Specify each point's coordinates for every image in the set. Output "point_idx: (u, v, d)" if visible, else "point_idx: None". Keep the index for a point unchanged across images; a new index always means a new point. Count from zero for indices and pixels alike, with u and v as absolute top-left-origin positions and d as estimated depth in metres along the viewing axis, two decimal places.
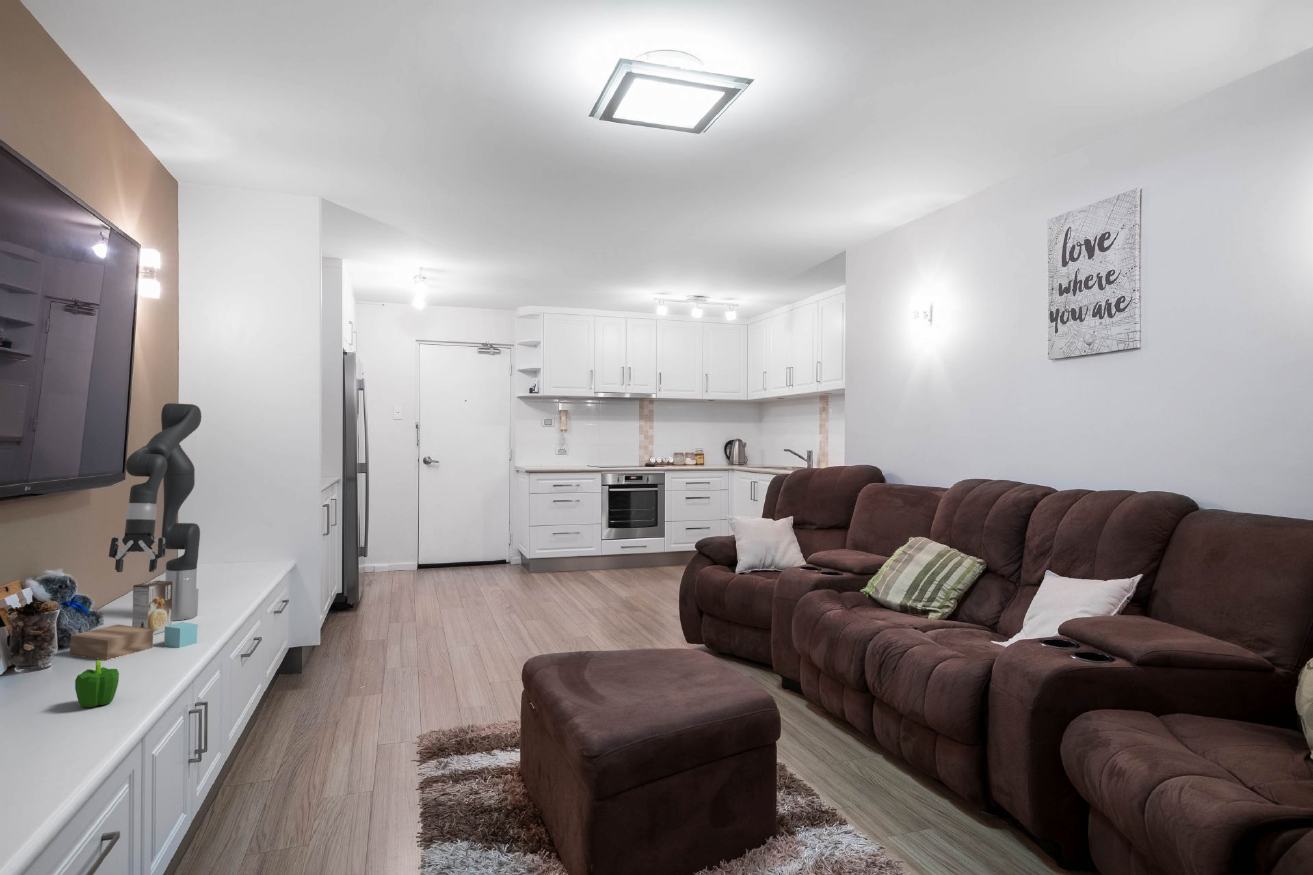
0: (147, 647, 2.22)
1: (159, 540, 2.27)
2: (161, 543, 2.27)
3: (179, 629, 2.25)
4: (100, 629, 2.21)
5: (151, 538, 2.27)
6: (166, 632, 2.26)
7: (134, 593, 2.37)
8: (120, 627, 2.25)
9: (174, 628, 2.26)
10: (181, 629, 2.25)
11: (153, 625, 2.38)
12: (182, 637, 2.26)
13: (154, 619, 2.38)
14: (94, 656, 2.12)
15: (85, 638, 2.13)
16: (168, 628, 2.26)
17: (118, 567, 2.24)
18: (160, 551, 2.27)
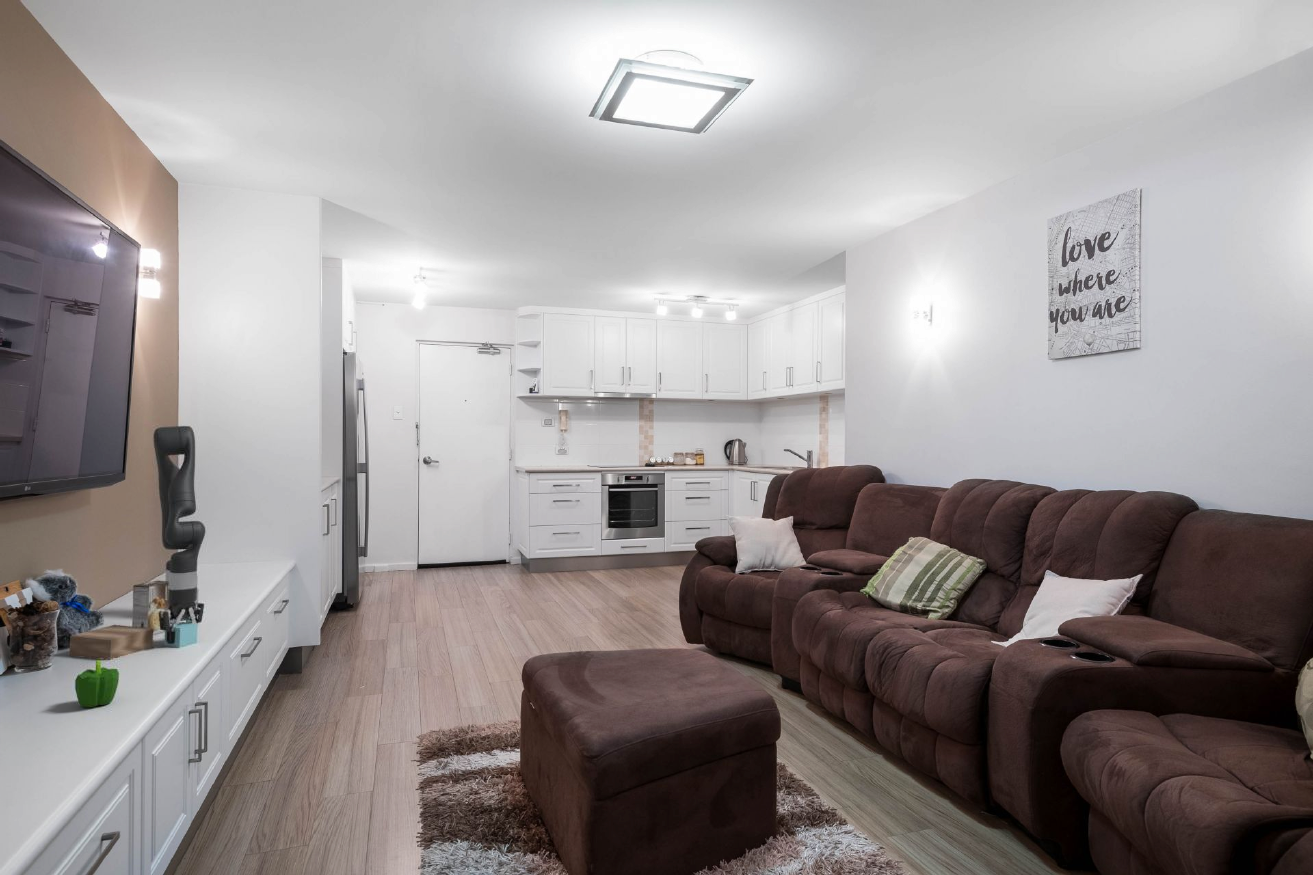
0: (148, 646, 2.23)
1: (201, 606, 2.34)
2: (202, 609, 2.34)
3: (179, 629, 2.25)
4: (98, 629, 2.21)
5: (195, 604, 2.32)
6: None
7: (134, 593, 2.37)
8: (118, 627, 2.24)
9: None
10: (181, 629, 2.25)
11: (153, 625, 2.38)
12: (182, 637, 2.26)
13: (154, 619, 2.38)
14: (96, 656, 2.12)
15: (86, 638, 2.12)
16: None
17: (174, 639, 2.25)
18: (200, 617, 2.34)
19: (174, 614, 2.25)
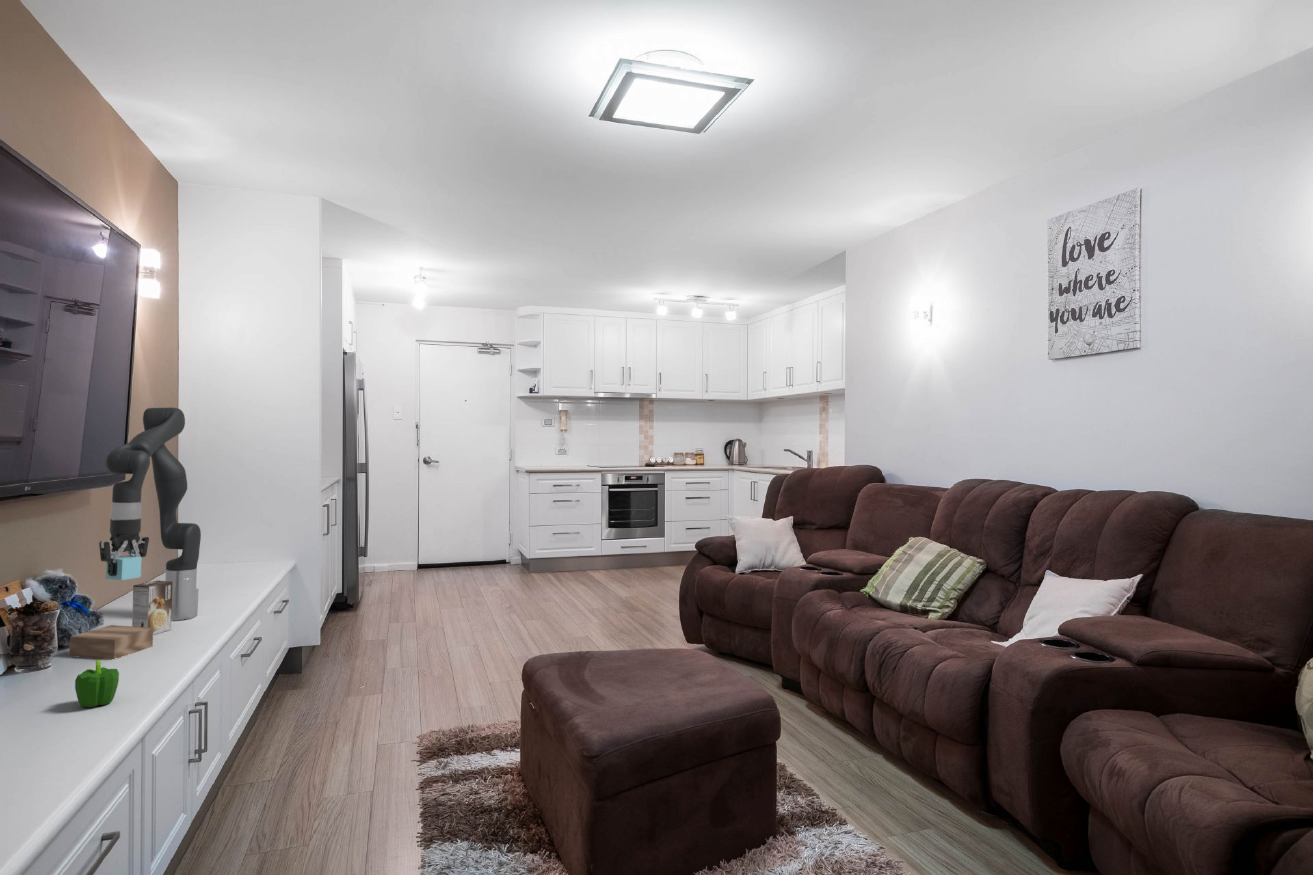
0: (148, 646, 2.24)
1: (146, 539, 2.26)
2: (147, 543, 2.26)
3: (121, 560, 2.17)
4: (97, 630, 2.21)
5: (139, 537, 2.24)
6: None
7: (134, 593, 2.37)
8: (116, 627, 2.24)
9: None
10: (123, 560, 2.17)
11: (153, 625, 2.38)
12: (124, 569, 2.17)
13: (154, 619, 2.38)
14: (99, 656, 2.12)
15: (88, 639, 2.12)
16: None
17: (115, 571, 2.17)
18: (145, 551, 2.26)
19: (116, 545, 2.17)
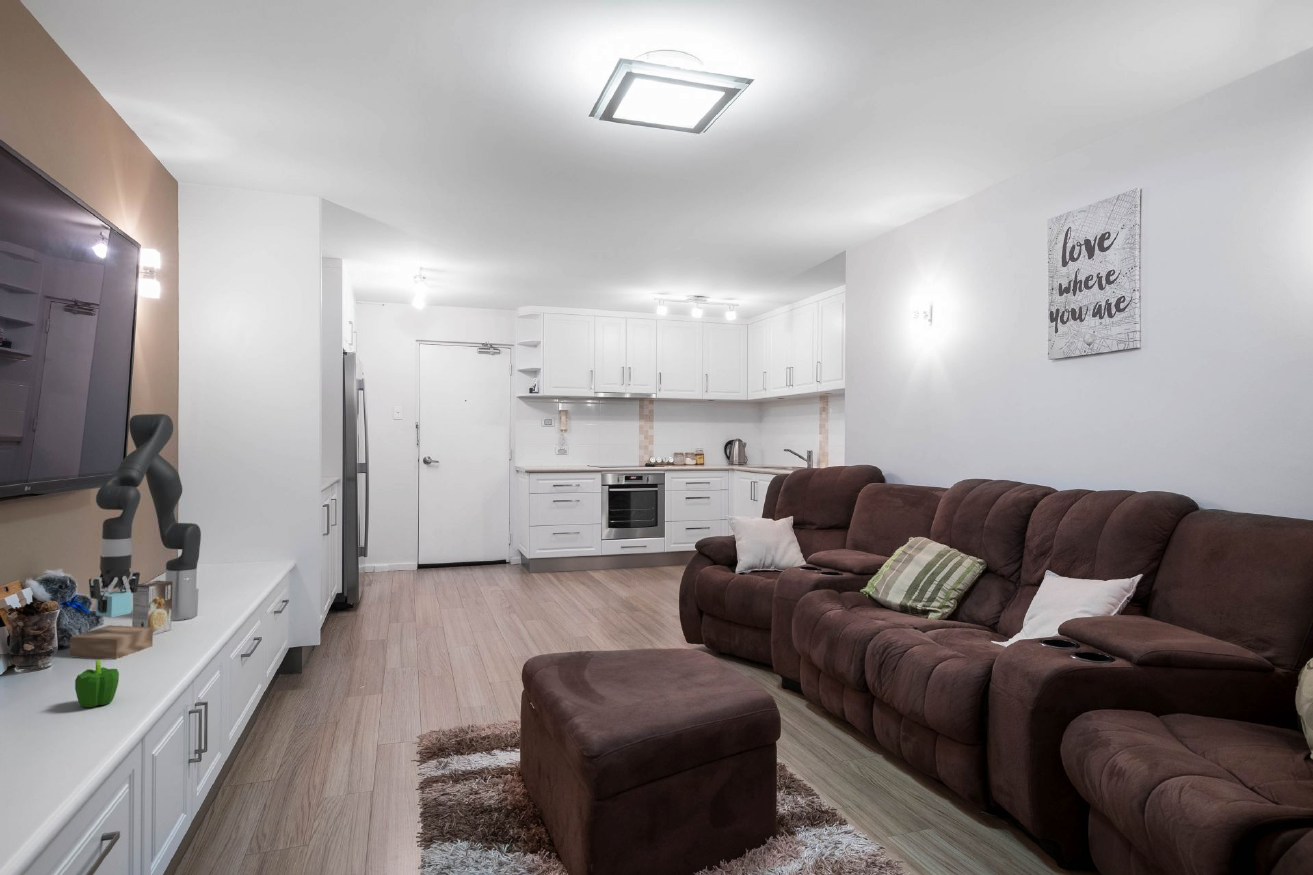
0: (148, 645, 2.24)
1: (137, 575, 2.25)
2: (138, 578, 2.25)
3: (111, 597, 2.16)
4: (96, 630, 2.20)
5: None
6: None
7: (134, 593, 2.37)
8: (115, 627, 2.24)
9: None
10: (113, 597, 2.16)
11: (153, 625, 2.38)
12: (114, 606, 2.16)
13: (154, 619, 2.38)
14: (100, 656, 2.12)
15: (89, 639, 2.12)
16: None
17: (105, 608, 2.16)
18: (136, 586, 2.25)
19: (106, 582, 2.16)
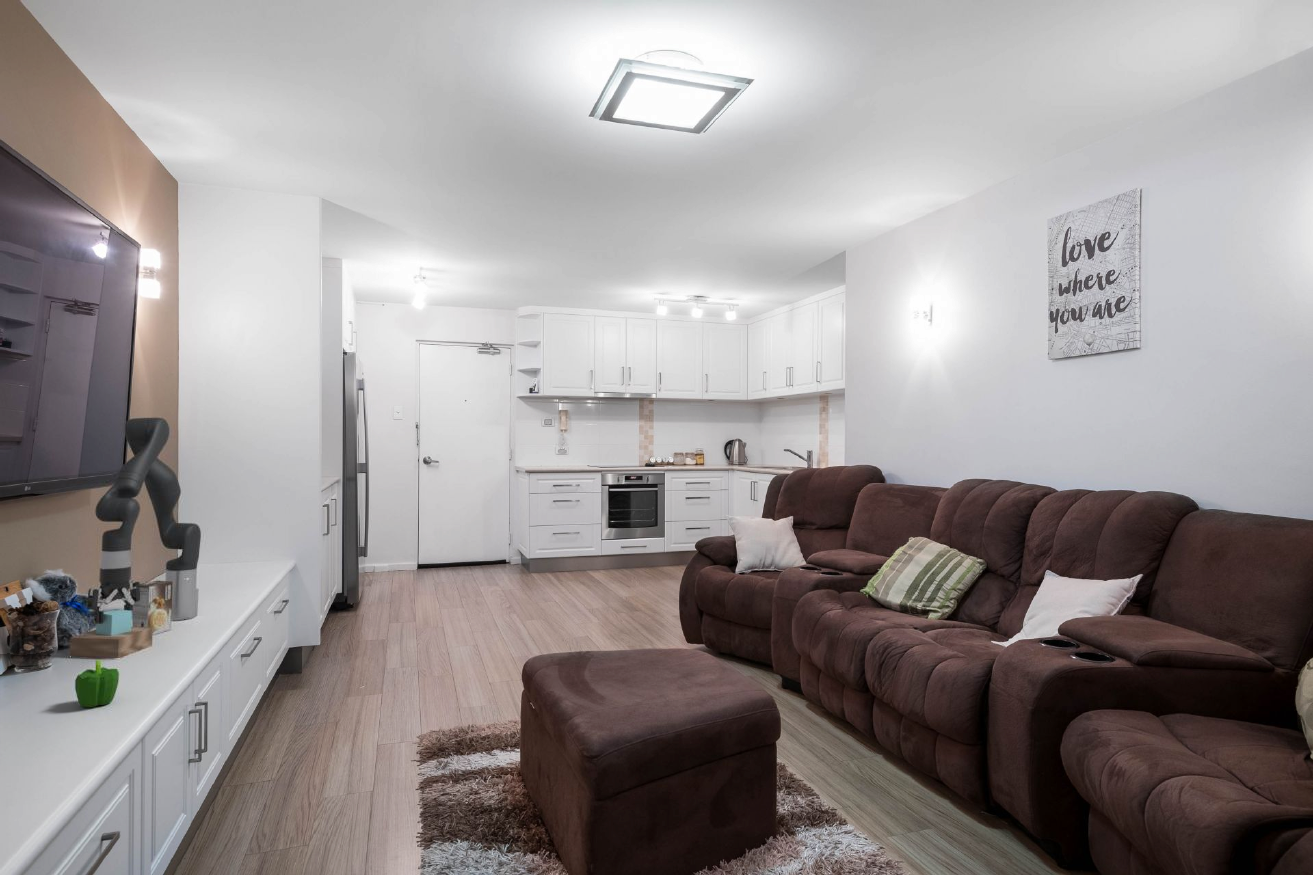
0: (148, 645, 2.24)
1: (137, 584, 2.25)
2: (139, 587, 2.25)
3: (111, 616, 2.16)
4: (95, 631, 2.20)
5: (129, 584, 2.23)
6: None
7: None
8: None
9: (106, 615, 2.16)
10: (113, 616, 2.16)
11: (153, 625, 2.38)
12: (114, 624, 2.16)
13: (154, 619, 2.38)
14: (101, 656, 2.12)
15: (89, 639, 2.12)
16: None
17: (102, 619, 2.15)
18: (138, 595, 2.25)
19: (105, 593, 2.16)
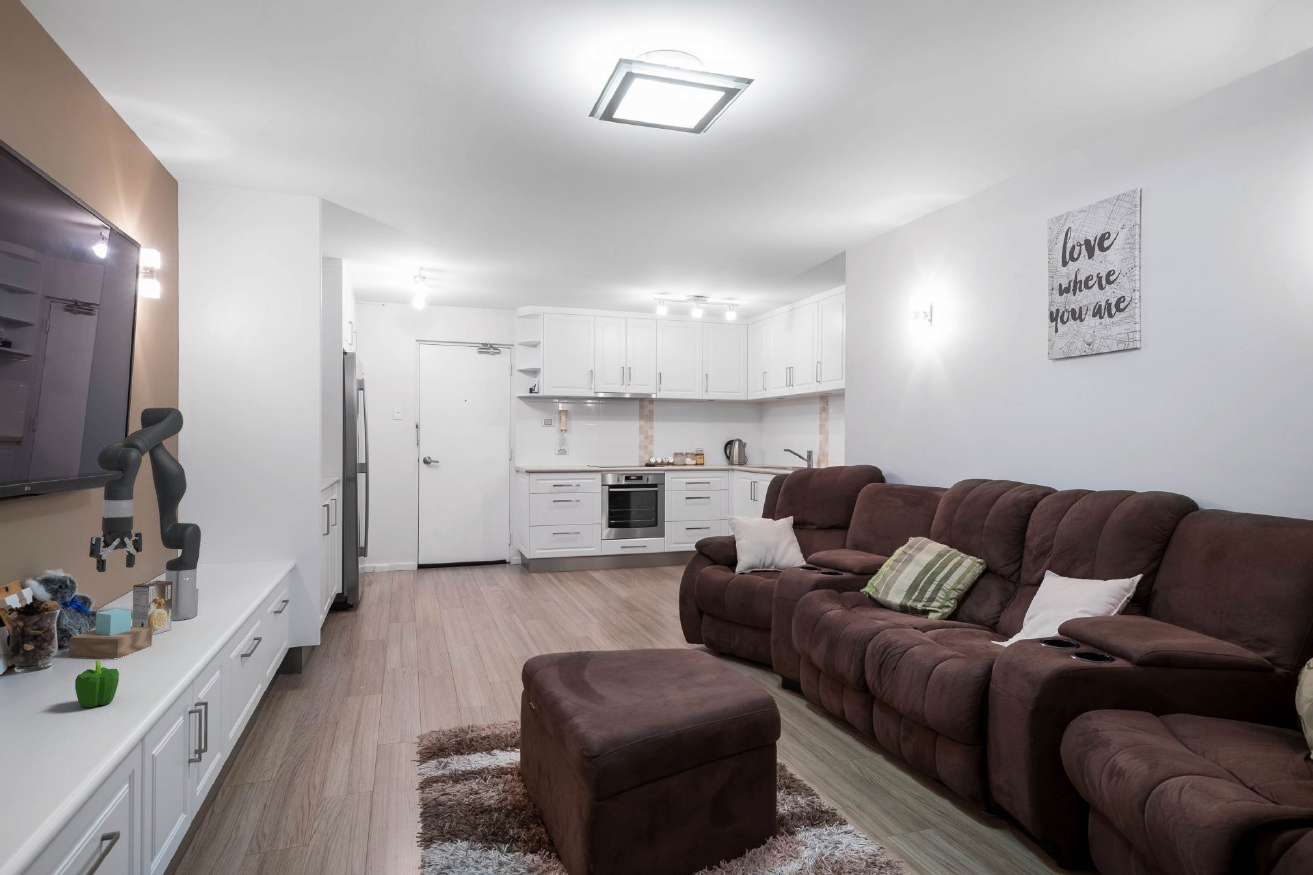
0: (147, 645, 2.24)
1: (139, 535, 2.25)
2: (141, 538, 2.26)
3: (110, 616, 2.16)
4: (94, 631, 2.20)
5: (131, 534, 2.23)
6: (97, 618, 2.17)
7: (134, 593, 2.37)
8: None
9: (105, 615, 2.16)
10: (112, 616, 2.16)
11: (153, 625, 2.38)
12: (113, 624, 2.16)
13: (154, 619, 2.38)
14: (101, 656, 2.12)
15: (89, 639, 2.12)
16: (99, 615, 2.17)
17: (104, 567, 2.15)
18: (140, 546, 2.26)
19: (107, 541, 2.16)
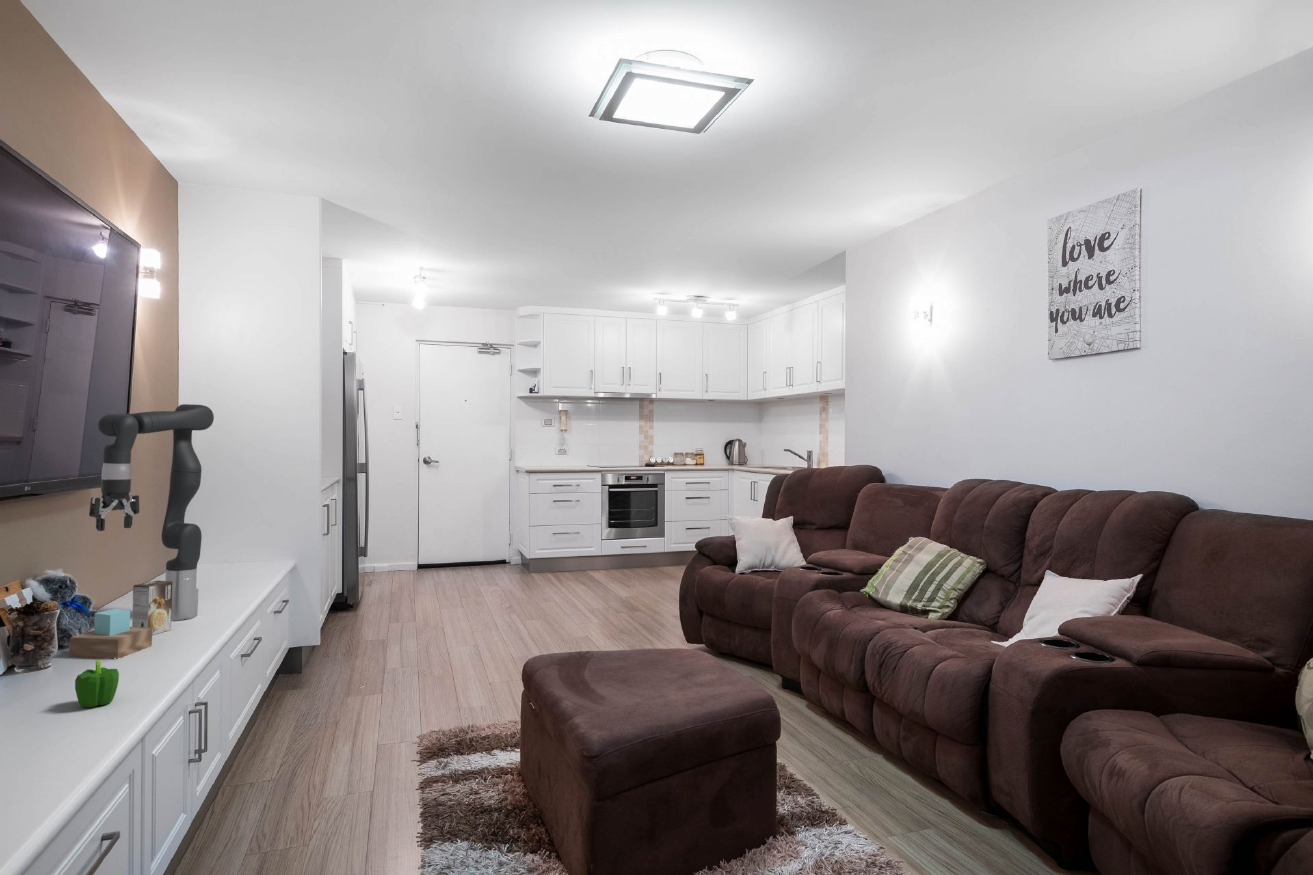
0: (147, 645, 2.24)
1: (136, 498, 2.38)
2: (138, 500, 2.39)
3: (109, 616, 2.15)
4: None
5: (129, 496, 2.36)
6: (96, 619, 2.17)
7: (134, 593, 2.37)
8: None
9: (104, 615, 2.16)
10: (111, 616, 2.16)
11: (153, 625, 2.38)
12: (112, 624, 2.16)
13: (154, 619, 2.38)
14: (101, 656, 2.12)
15: (89, 639, 2.12)
16: (98, 615, 2.17)
17: (103, 526, 2.29)
18: (137, 508, 2.39)
19: (106, 502, 2.30)
